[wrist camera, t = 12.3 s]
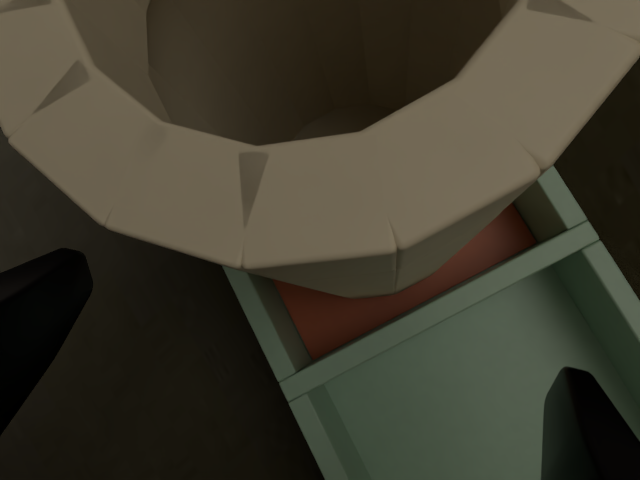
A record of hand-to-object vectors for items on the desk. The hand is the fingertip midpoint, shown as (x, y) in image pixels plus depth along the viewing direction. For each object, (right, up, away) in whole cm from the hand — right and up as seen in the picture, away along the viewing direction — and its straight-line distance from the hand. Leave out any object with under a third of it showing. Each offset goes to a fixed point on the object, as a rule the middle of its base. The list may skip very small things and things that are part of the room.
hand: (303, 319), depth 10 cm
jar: (+2, +3, +8) cm, 9 cm away
